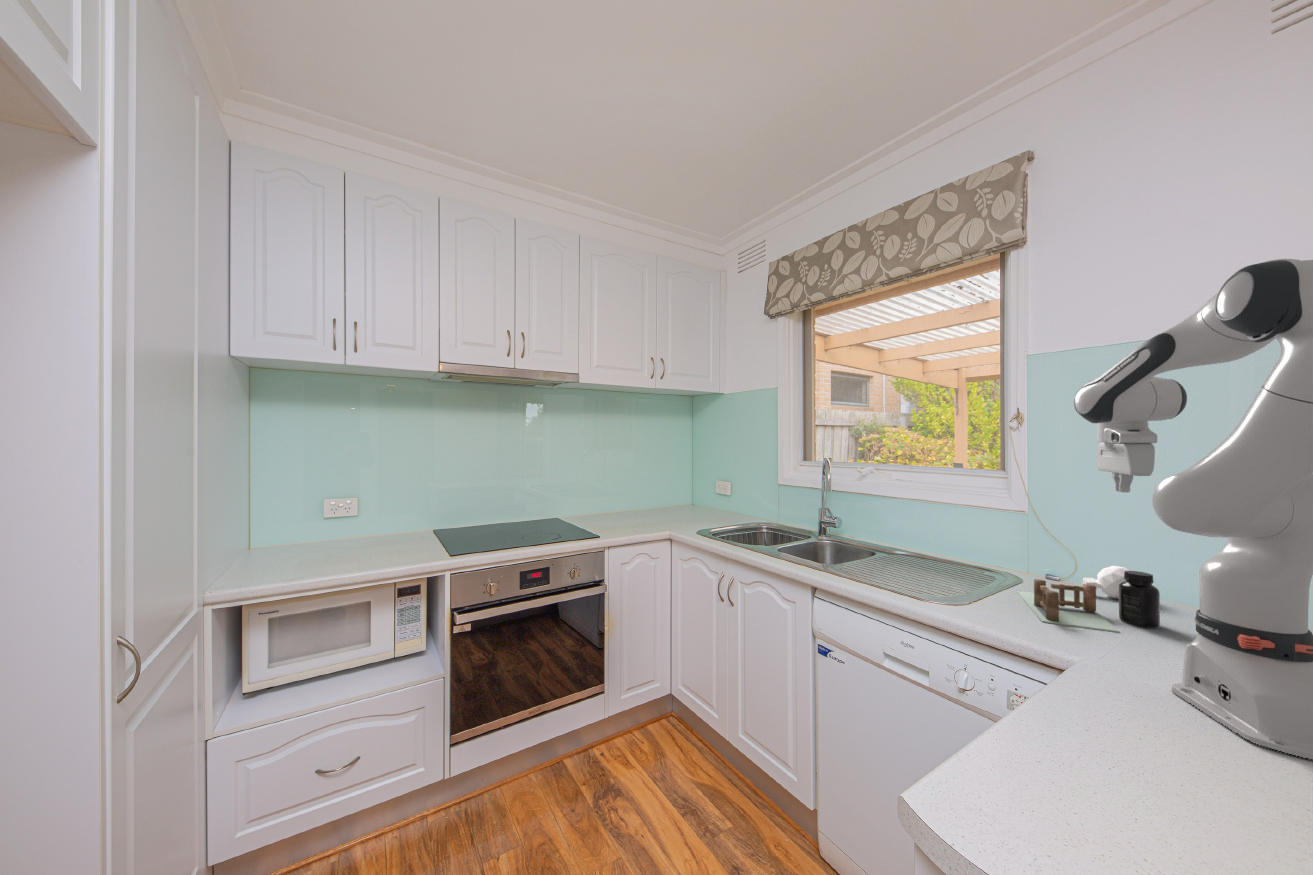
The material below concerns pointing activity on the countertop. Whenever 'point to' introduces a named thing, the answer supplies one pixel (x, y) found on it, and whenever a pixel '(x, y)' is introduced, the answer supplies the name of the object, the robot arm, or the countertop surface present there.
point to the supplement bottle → (1139, 600)
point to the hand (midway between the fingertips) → (1122, 491)
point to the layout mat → (1070, 615)
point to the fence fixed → (1046, 600)
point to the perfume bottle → (1108, 580)
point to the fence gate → (1078, 596)
